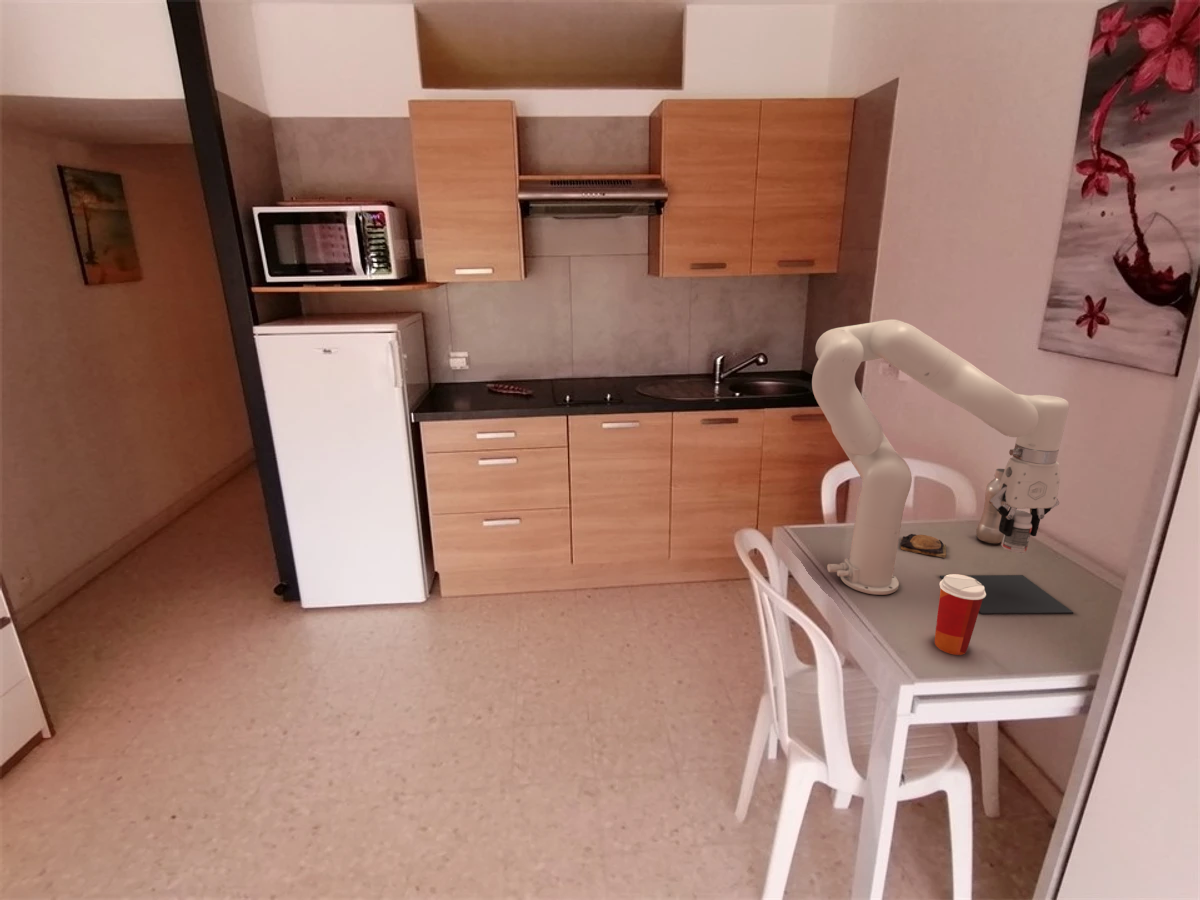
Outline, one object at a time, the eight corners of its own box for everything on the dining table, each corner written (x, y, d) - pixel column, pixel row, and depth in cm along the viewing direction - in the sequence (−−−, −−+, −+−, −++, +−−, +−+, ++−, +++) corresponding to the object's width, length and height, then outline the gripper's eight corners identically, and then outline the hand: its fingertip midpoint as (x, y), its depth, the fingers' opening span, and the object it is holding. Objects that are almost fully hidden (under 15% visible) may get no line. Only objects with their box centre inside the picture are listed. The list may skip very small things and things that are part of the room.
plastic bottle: (968, 537, 166) (983, 468, 160) (988, 534, 168) (1002, 465, 162) (989, 547, 160) (1005, 476, 154) (1009, 544, 162) (1025, 473, 156)
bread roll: (945, 546, 161) (948, 533, 160) (945, 559, 154) (948, 546, 153) (901, 537, 166) (903, 525, 165) (899, 550, 159) (901, 537, 158)
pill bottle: (1030, 554, 132) (1039, 518, 130) (1006, 552, 133) (1014, 516, 131) (1020, 544, 137) (1028, 510, 134) (997, 542, 137) (1004, 508, 135)
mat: (980, 614, 130) (981, 612, 130) (939, 576, 146) (939, 575, 145) (1073, 613, 131) (1073, 612, 131) (1022, 576, 146) (1022, 575, 146)
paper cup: (958, 634, 123) (971, 572, 119) (981, 658, 116) (996, 593, 112) (919, 634, 123) (931, 572, 119) (941, 658, 116) (954, 593, 112)
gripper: (1006, 460, 124) (989, 541, 130) (1088, 459, 125) (1068, 541, 130) (984, 449, 132) (968, 526, 137) (1061, 448, 132) (1043, 526, 137)
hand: (1017, 532), depth 134 cm, fingers closed on pill bottle, 4 cm apart
